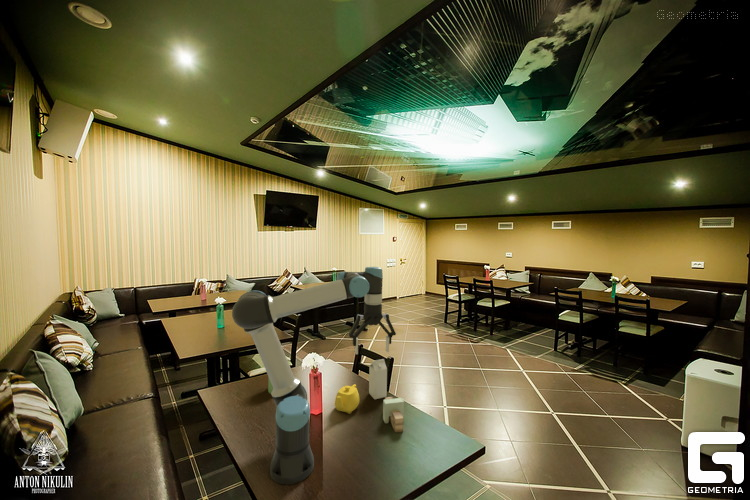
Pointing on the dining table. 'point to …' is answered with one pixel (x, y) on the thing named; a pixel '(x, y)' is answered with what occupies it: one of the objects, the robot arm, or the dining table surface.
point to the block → (392, 408)
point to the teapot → (347, 399)
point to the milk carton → (378, 379)
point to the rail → (396, 419)
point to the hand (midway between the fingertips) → (372, 352)
